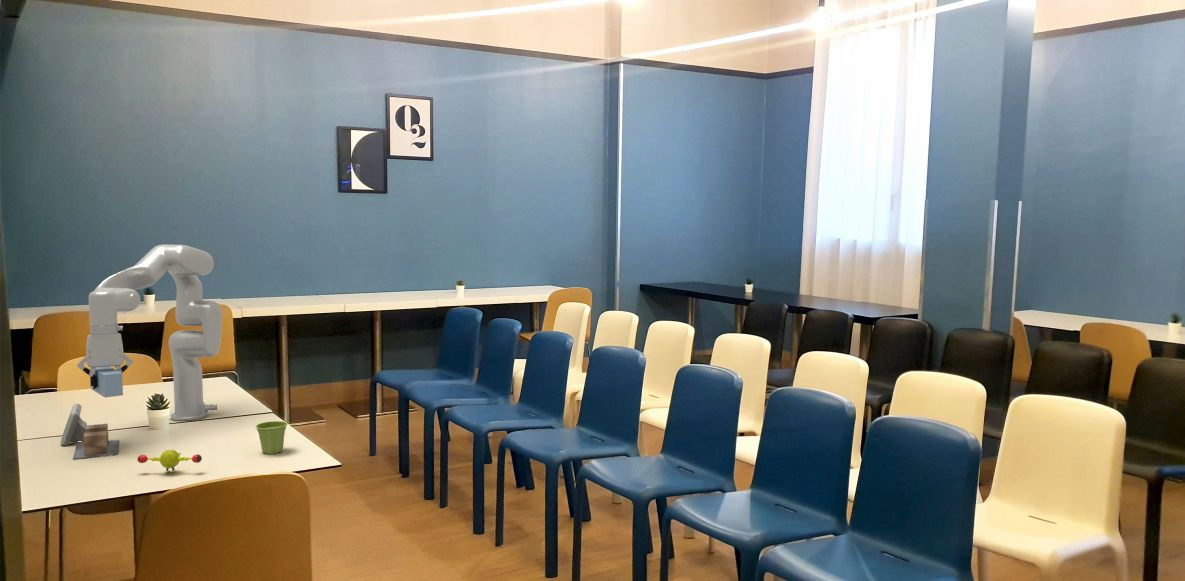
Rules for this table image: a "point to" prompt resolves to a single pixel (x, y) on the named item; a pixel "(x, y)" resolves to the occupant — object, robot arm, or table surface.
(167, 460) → the toy figure
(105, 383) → the lintel
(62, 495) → the table surface
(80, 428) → the digital clock
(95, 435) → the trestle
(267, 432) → the plant pot
